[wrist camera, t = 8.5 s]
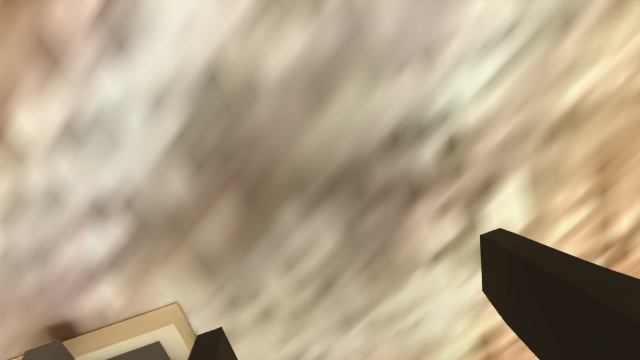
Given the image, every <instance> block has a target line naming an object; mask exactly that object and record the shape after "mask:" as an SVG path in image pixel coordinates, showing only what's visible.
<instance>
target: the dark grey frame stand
mask: <svg viewBox="0 0 640 360" xmlns="http://www.w3.org/2000/svg"><path fill="white" fill-rule="evenodd" d="M21 360H75V359H74V357H73V356H72V355H71V353H70V352H69V351H68V350H67V348H66V347H65V346H64V344H63V343H62V342H61V341H60V340H58V341H55V342H52V343H49V344H46V345H44V346H41V347H38V348H35V349H32V350H29V351H26V353H25V354H24V356H23V358H22V359H21ZM106 360H171V359H170V357H169V356H168V354H167V353H166V351H165V349H164V348H163V346H162V344H161V343H160V341H157V342H154V343H152V344H149V345H146V346H143V347H140V348H137V349H135V350H132V351H129V352H126V353H123V354H120V355H118V356H115V357H112V358H109V359H106Z"/></svg>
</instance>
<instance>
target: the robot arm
mask: <svg viewBox="0 0 640 360" xmlns="http://www.w3.org/2000/svg"><path fill="white" fill-rule="evenodd" d="M480 249H481V270H482V291H483V292H484V294H485V295H486V297H487V298H488V299H489V301H490V302H491V304H492V305H493V306H494V308H495V309H496V311H497V312H498V313H499V315H500V316H501V317H502V319H503V320H504V321H505V323H506V324H507V325H508V326H509V327H510V328H511V329H512V330H513V332H514V333H515V334H516V335H517V336H518V337H519V338H520V339H521V340H522V341H523V342H524V343H525V345H526V346H527V347H528V348H529V349H530V350H531V351H532V352H533V353H534V354H535V355H536V356H537V358H538V359H539V360H640V279H637V278H634V277H631V276H628V275H625V274H622V273H619V272H616V271H613V270H610V269H608V268H605V267H602V266H599V265H596V264H594V263H591V262H588V261H585V260H583V259H580V258H577V257H575V256H572V255H569V254H567V253H564V252H562V251H559V250H556V249H554V248H551V247H549V246H546V245H544V244H541V243H539V242H536V241H533V240H531V239H528V238H526V237H523V236H521V235H518V234H515V233H513V232H510V231H507V230H504V229H501V228H499V229H496V230H493V231H490V232H487V233H484V234H482V235H480ZM188 360H238V359H237V357H236V355H235V353H234V351H233V349H232V347H231V345H230V343H229V341H228V339H227V337H226V335H225V333H224V331H223V329H222V327H220V328H217V329H214V330H211V331H209V332H206V333H203V334H200V335H198V336H197V338H196V339H195V342H194V344H193V347H192V349H191V352H190V354H189V357H188Z"/></svg>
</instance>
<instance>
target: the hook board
mask: <svg viewBox="0 0 640 360" xmlns="http://www.w3.org/2000/svg"><path fill="white" fill-rule="evenodd" d="M195 339H196V337H195V335H194V333H193V331H192V329H191V327H190V326H189V324H188V322H187V320H186V318H185V316H184V315H183V313H182V311H181V309H180V307H179V305H178V304H177V303H174V304H171V305H169V306H166V307H163V308H160V309H157V310H154V311H151V312H148V313H145V314H142V315H139V316H136V317H134V318H131V319H128V320H125V321H122V322H119V323H116V324H113V325H110V326H107V327H104V328H102V329H99V330H96V331H93V332H90V333H87V334H84V335H81V336H78V337H75V338H72V339H69V340H67V341H64V342H62V343H63V344H64V346H65V347H66V348H67V350H68V351H69V352H70V353H71V355H72V356H73V357H74V359H75V360H106V359H109V358H112V357H115V356H118V355H120V354H123V353H126V352H129V351H132V350H135V349H137V348H140V347H143V346H146V345H149V344H152V343H154V342H157V341H160V343H161V344H162V346H163V348H164V349H165V351H166V353H167V354H168V356H169V357H170V359H171V360H188V357H189V354H190V352H191V349H192V347H193V344H194V342H195ZM23 356H24V355H23ZM23 356H20V357H17V358H14V359H11V360H21V359H22V358H23Z"/></svg>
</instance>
